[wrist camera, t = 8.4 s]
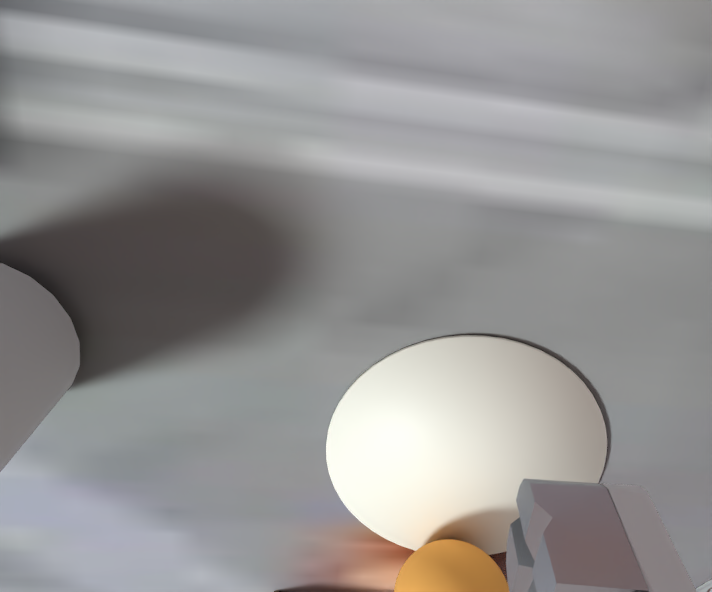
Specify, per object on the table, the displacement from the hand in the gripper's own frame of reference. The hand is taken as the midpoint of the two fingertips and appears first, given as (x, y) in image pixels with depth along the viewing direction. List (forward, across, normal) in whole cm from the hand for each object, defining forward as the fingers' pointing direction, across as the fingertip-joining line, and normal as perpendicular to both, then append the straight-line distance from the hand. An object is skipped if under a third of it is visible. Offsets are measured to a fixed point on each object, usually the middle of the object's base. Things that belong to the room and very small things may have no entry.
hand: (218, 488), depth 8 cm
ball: (+13, -7, +20) cm, 25 cm away
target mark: (+16, -7, +14) cm, 23 cm away
